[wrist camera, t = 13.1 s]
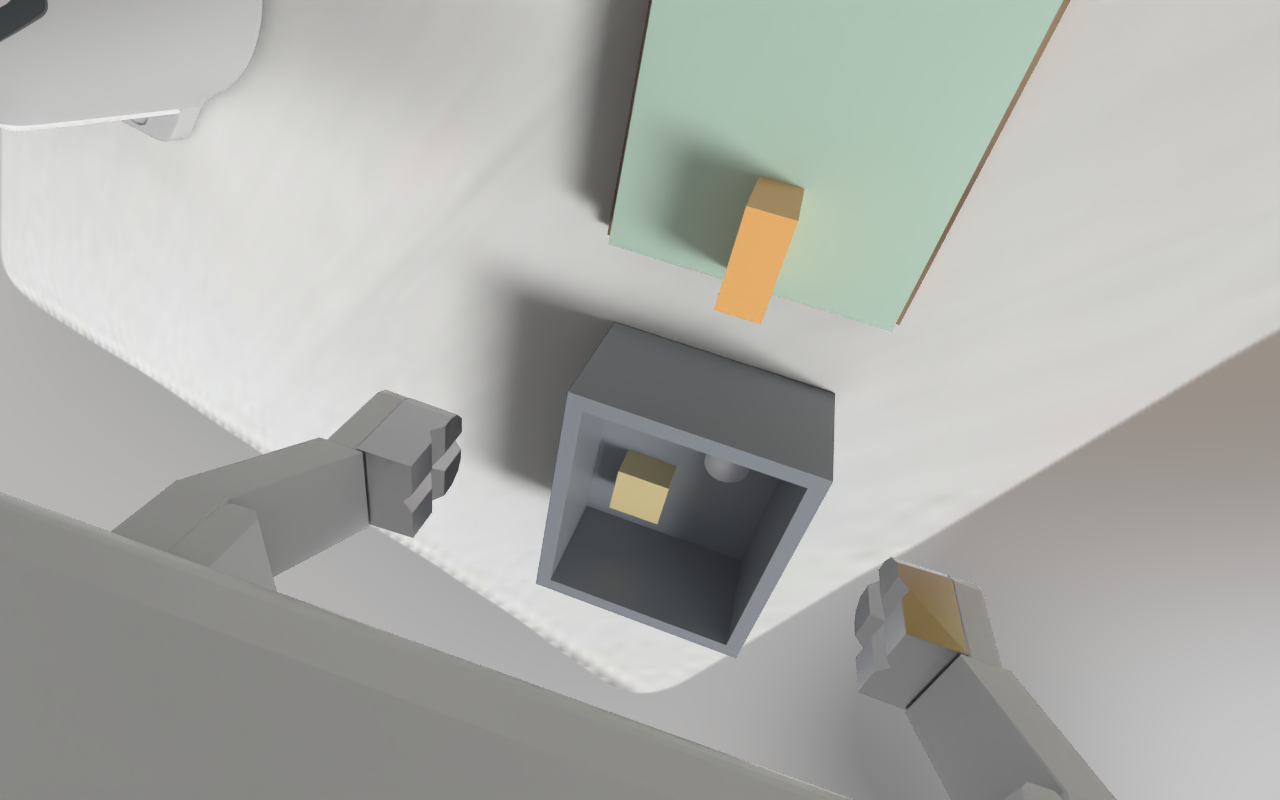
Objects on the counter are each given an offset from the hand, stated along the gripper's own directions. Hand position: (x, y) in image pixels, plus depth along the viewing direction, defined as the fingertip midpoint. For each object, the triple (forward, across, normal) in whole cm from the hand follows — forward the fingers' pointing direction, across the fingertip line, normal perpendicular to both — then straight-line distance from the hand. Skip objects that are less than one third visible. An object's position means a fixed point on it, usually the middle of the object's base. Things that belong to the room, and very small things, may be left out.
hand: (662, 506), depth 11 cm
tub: (+20, -1, +15) cm, 25 cm away
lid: (+19, -1, -4) cm, 20 cm away
